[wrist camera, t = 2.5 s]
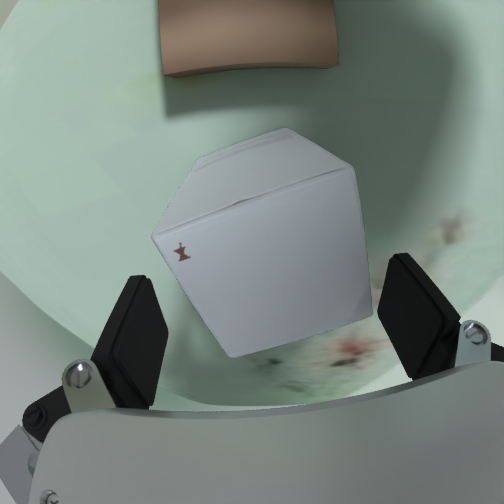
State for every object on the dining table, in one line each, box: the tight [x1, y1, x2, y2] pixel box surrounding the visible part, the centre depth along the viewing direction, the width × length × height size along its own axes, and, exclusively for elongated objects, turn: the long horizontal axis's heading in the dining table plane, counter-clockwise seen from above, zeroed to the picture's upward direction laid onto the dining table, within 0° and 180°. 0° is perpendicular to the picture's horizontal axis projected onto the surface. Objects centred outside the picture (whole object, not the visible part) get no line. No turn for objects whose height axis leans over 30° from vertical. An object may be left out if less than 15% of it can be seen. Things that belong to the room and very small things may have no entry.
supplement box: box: [151, 127, 373, 358], centre depth 16 cm, size 7×7×13 cm
